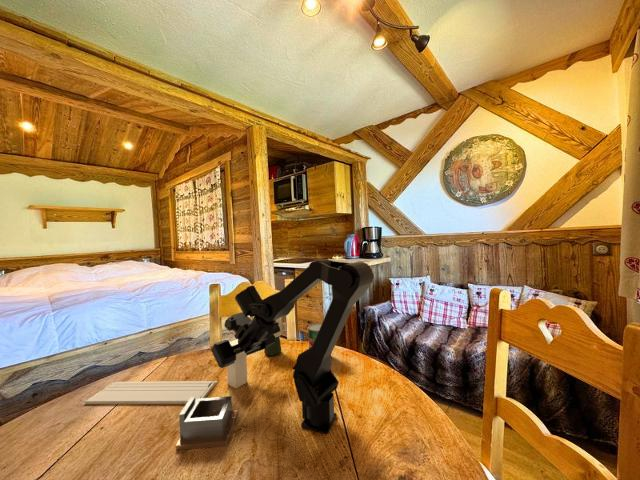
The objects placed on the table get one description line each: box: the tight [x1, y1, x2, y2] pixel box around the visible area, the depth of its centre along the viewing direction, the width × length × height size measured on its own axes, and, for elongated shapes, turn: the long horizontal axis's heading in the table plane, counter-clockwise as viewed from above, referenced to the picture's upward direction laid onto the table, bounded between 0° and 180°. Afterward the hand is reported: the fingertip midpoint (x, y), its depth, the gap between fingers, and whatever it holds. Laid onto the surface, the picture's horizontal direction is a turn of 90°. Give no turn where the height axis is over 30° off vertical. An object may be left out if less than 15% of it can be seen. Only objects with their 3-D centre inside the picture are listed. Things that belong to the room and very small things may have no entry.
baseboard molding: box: [84, 376, 218, 405], centre depth 76 cm, size 31×3×12 cm
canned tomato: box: [307, 322, 332, 358], centre depth 94 cm, size 8×8×11 cm
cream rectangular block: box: [226, 338, 248, 389], centre depth 79 cm, size 4×4×12 cm
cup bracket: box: [175, 395, 238, 451], centre depth 60 cm, size 10×10×6 cm
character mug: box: [263, 317, 288, 356], centre depth 99 cm, size 11×7×13 cm, turn 85°
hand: (233, 359), depth 80 cm, fingers open, 8 cm apart
